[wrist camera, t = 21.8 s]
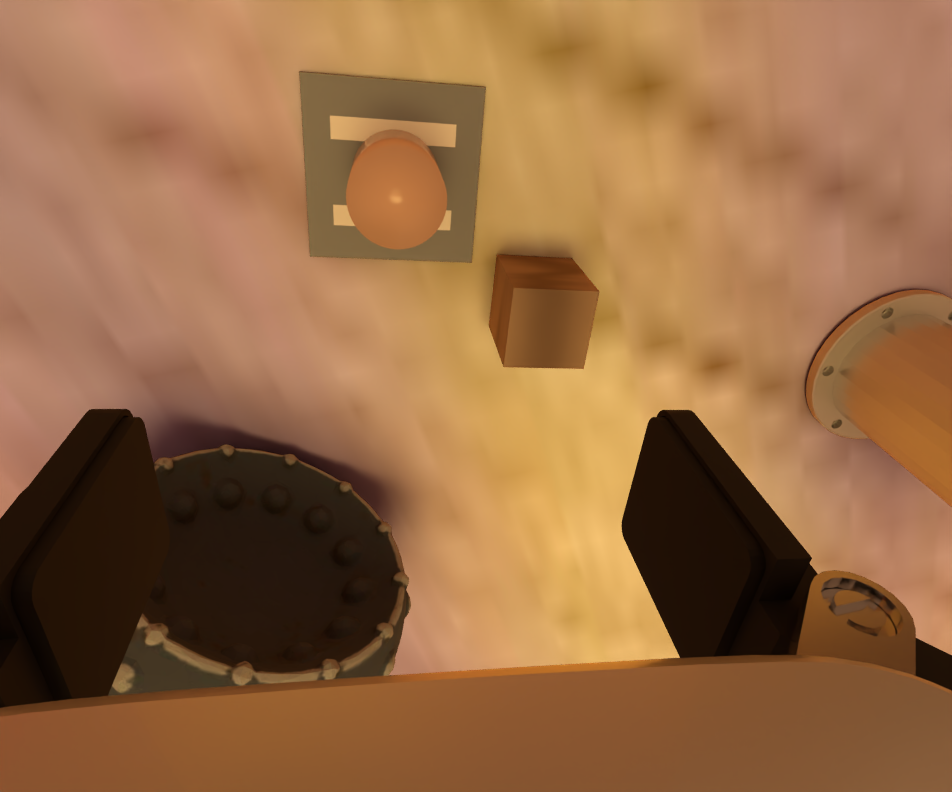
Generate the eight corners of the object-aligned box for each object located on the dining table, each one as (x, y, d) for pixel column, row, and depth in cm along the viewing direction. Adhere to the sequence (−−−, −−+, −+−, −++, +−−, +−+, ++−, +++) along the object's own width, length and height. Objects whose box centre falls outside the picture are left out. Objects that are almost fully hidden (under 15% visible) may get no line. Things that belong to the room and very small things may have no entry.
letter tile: (484, 87, 34) (485, 87, 33) (471, 261, 39) (471, 262, 39) (299, 71, 32) (299, 72, 32) (310, 255, 37) (310, 256, 37)
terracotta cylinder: (440, 132, 34) (450, 150, 29) (436, 221, 37) (444, 251, 32) (350, 126, 34) (344, 142, 29) (352, 216, 36) (347, 247, 31)
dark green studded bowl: (149, 394, 41) (-19, 654, 24) (419, 483, 48) (438, 734, 31) (113, 508, 45) (-51, 796, 28) (365, 574, 52) (356, 839, 35)
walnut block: (571, 258, 40) (599, 291, 35) (559, 327, 42) (583, 368, 37) (496, 254, 39) (513, 288, 34) (488, 325, 41) (503, 367, 36)
